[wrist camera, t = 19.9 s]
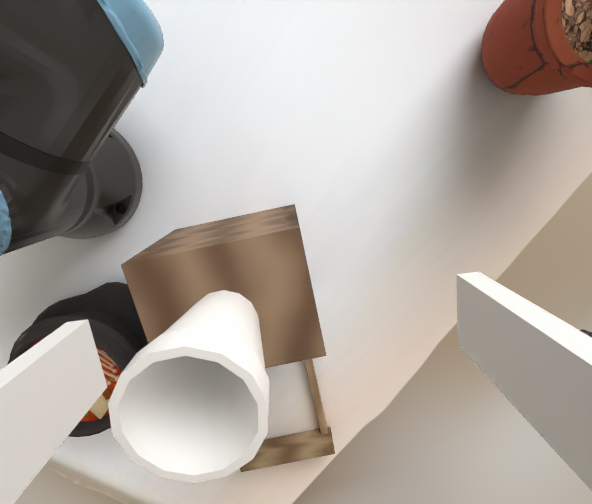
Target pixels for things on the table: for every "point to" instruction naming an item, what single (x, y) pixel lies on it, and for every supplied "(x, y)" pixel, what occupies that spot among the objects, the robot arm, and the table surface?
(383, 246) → the table surface
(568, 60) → the potted plant
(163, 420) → the foam cup
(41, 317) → the casserole
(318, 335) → the cubby cabinet
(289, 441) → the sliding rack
